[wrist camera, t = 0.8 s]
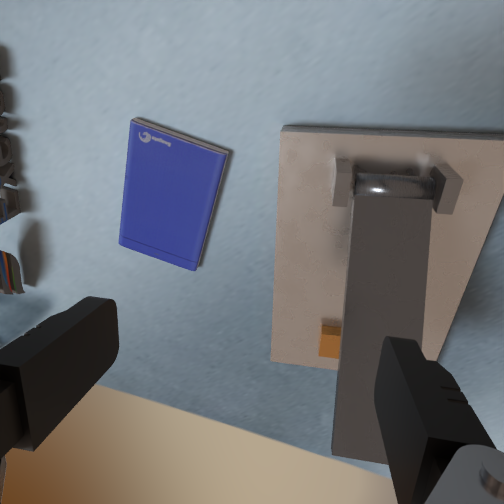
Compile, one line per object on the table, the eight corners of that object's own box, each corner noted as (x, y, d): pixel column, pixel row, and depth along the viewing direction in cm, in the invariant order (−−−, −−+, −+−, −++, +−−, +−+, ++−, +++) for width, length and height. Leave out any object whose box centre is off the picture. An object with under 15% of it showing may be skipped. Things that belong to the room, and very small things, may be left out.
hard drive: (128, 120, 28) (116, 245, 35) (225, 155, 28) (195, 272, 35) (137, 116, 29) (124, 237, 36) (230, 149, 29) (199, 264, 36)
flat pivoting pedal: (353, 176, 25) (357, 169, 23) (427, 181, 25) (436, 173, 23) (330, 444, 24) (332, 458, 22) (406, 457, 24) (414, 472, 22)
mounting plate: (283, 125, 27) (275, 142, 23) (510, 134, 25) (549, 154, 20) (272, 347, 39) (266, 384, 35) (422, 367, 37) (435, 409, 33)
